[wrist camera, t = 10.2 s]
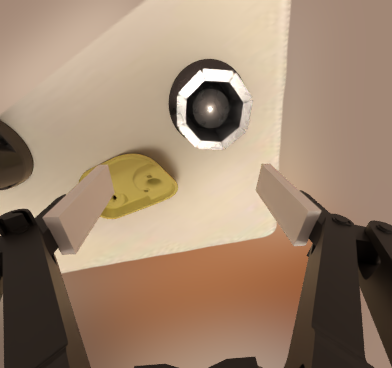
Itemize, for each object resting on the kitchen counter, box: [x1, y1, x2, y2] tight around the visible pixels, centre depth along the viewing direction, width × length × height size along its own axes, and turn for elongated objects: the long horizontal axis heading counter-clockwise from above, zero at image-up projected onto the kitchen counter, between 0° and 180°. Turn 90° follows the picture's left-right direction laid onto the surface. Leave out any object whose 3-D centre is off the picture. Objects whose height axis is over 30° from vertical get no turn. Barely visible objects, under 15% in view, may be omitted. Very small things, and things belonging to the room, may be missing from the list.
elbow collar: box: [177, 69, 253, 150], centre depth 28 cm, size 10×10×9 cm
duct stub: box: [169, 59, 244, 138], centre depth 30 cm, size 14×14×6 cm
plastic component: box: [79, 154, 178, 219], centre depth 37 cm, size 20×7×10 cm
